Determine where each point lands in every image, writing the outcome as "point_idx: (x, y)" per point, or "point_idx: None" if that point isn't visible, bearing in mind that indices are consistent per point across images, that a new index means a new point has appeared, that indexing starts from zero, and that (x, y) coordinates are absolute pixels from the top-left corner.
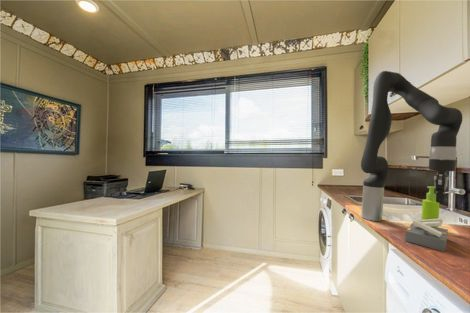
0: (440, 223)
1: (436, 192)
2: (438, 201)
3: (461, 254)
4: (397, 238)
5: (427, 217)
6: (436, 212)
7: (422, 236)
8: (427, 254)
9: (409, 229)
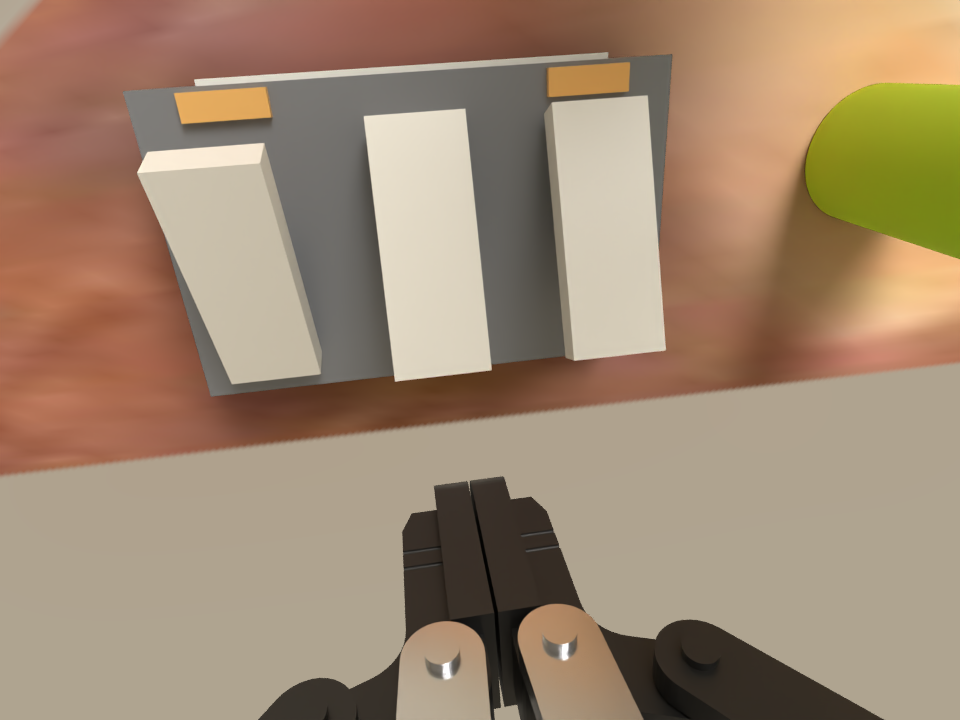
0: (407, 378)
1: (412, 642)
2: (434, 519)
3: (301, 423)
4: (162, 9)
5: (903, 162)
6: None
7: None
8: (10, 292)
9: (202, 114)
